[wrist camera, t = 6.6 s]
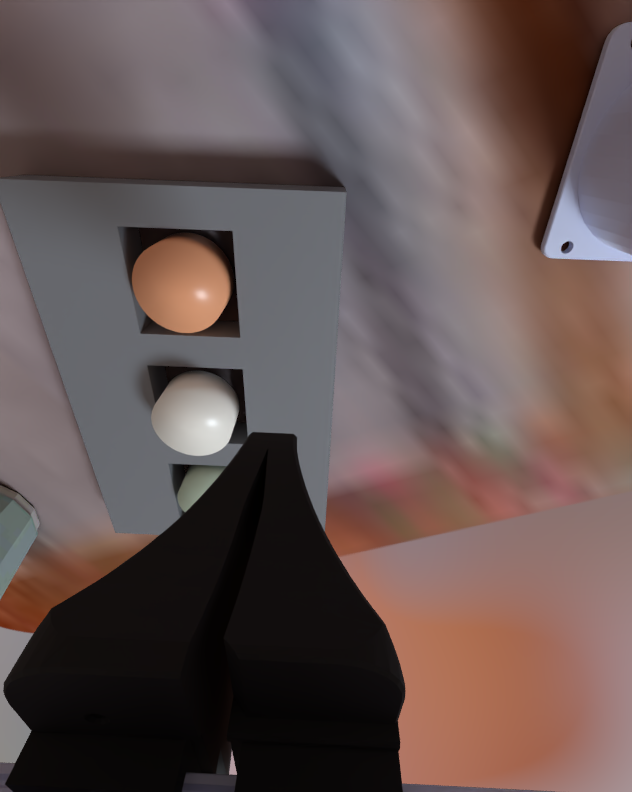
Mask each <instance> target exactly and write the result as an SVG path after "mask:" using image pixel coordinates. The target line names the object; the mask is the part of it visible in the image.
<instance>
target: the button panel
mask: <svg viewBox="0 0 632 792" xmlns="http://www.w3.org/2000/svg"><path fill="white" fill-rule="evenodd" d="M0 203H1V206H2V209H3V212H4V214H5V217H6V220H7V223H8V226H9V229H10V232H11V235H12V237H13V240H14V243H15V246H16V249H17V252H18V255H19V258H20V260H21V263H22V266H23V269H24V272H25V275H26V278H27V280H28V283H29V286H30V289H31V292H32V295H33V298H34V301H35V303H36V306H37V309H38V312H39V315H40V318H41V321H42V324H43V326H44V329H45V332H46V335H47V338H48V341H49V344H50V346H51V349H52V352H53V355H54V358H55V361H56V364H57V367H58V369H59V372H60V375H61V378H62V381H63V384H64V387H65V390H66V392H67V395H68V398H69V401H70V404H71V407H72V410H73V412H74V415H75V418H76V421H77V424H78V427H79V430H80V433H81V435H82V438H83V441H84V444H85V447H86V450H87V453H88V456H89V458H90V461H91V464H92V467H93V470H94V473H95V476H96V479H97V481H98V484H99V487H100V490H101V493H102V496H103V499H104V501H105V504H106V507H107V510H108V513H109V516H110V519H111V522H112V524H113V527H114V530H115V533H133V534H154V535H160V534H162V533H163V532H164V531H165V530H166V529H167V528H169V527H170V526H171V525H172V524H173V523H174V522H175V521H176V520H178V519H179V518H180V517H181V516H182V515H183V514H184V513H185V512H184V511H183V510H182V509H181V507H180V505H179V503H178V498H177V497H178V491H179V489H180V487H181V485H182V482H183V480H184V478H185V471H184V466H183V464H190V465H212V466H227V465H228V464H229V463H230V462H231V460H232V459H233V458H234V456H235V455H236V453H237V452H238V451H239V449H240V448H241V446H242V445H243V444H244V442H245V441H246V439H247V437H248V436H249V435H250V434H251V433H252V432H264V433H287V434H294V435H295V436H296V437H297V453H298V459H299V464H300V468H301V472H302V475H303V479H304V482H305V485H306V488H307V491H308V494H309V497H310V500H311V502H312V505H313V507H314V510H315V512H316V514H317V517H318V519H319V521H320V523H321V525H322V527H323V529H324V532H325V520H326V504H327V489H328V473H329V457H330V442H331V426H332V411H333V395H334V379H335V364H336V348H337V333H338V317H339V301H340V286H341V270H342V255H343V239H344V223H345V208H346V189H345V187H328V186H302V185H276V184H249V183H223V182H197V181H171V180H145V179H118V178H92V177H66V176H40V175H19V176H10V177H2V178H0ZM138 227H144V228H169V229H195V230H220V231H233V244H234V258H235V271H236V285H237V298H238V312H239V322H236V321H215V322H214V323H213V324H212V325H211V326H210V327H208V328H206V329H204V330H202V331H199V332H194V333H180V332H175V331H172V330H169V329H166V328H164V327H162V326H161V325H159V324H157V323H156V322H155V321H153V320H152V319H151V318H150V317H149V316H148V315H147V314H146V313H145V312H144V311H143V309H142V308H141V306H140V305H139V303H138V301H137V299H136V297H135V294H134V291H133V286H132V272H133V268H134V265H135V262H136V260H137V259H138V257H139V256H140V255H141V254H142V253H143V250H142V244H141V239H140V234H139V228H138ZM165 366H177V367H201V368H224V369H243V380H244V393H245V407H246V420H247V423H235V426H234V429H233V432H232V435H231V438H230V440H229V442H228V443H227V445H226V446H225V447H224V448H223V449H221V450H220V451H218V452H216V453H213V454H210V455H205V456H193V455H187V454H184V453H181V452H178V451H176V450H174V449H172V448H171V447H169V446H168V445H166V444H165V443H164V442H163V441H162V440H161V439H160V438H159V437H158V435H157V434H156V432H155V430H154V428H153V425H152V421H151V414H152V410H153V407H154V405H155V404H156V402H157V401H158V399H159V398H160V396H161V395H162V393H163V392H164V390H165V389H166V387H167V386H168V382H167V376H166V371H165Z"/></svg>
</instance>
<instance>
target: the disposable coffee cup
mask: <svg viewBox="0 0 632 792" xmlns="http://www.w3.org/2000/svg"><path fill="white" fill-rule="evenodd" d="M39 525H40V523H39V520H38V517H37V514H36V511H35V509H34V508H33V507H32V506H31V505H30V504H29V503H28V502H27V501H26V500H25V499H24V498H23V497H22V496H21V495H19V494H18V493H16V492H14V491H12V490H10V489H8V488H6V487H3V486H1V485H0V599H1V597H2V596H3V594H4V592H5V590H6V589H7V587H8V585H9V583H10V582H11V580H12V578H13V576H14V575H15V573H16V571H17V569H18V568H19V566H20V564H21V562H22V561H23V559H24V557H25V555H26V554H27V552H28V550H29V548H30V547H31V545H32V543H33V541H34V540H35V538H36V536H37V534H38V533H37V529H38V527H39Z"/></svg>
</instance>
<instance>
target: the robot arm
mask: <svg viewBox="0 0 632 792" xmlns="http://www.w3.org/2000/svg"><path fill="white" fill-rule="evenodd" d="M631 40H632V22H627V23H623V24H621V25H618V26H617V27H615V28H614V29H613V30H612V31H611V32H610V33H609V34H608V36H607V38H606V40H605V43H604V46H603V49H602V52H601V55H600V59H599V62H598V65H597V68H596V71H595V75H594V78H593V81H592V84H591V87H590V91H589V94H588V97H587V100H586V103H585V106H584V110H583V113H582V116H581V119H580V122H579V126H578V129H577V132H576V135H575V138H574V142H573V145H572V148H571V151H570V154H569V158H568V161H567V164H566V167H565V170H564V174H563V177H562V180H561V183H560V186H559V189H558V193H557V196H556V199H555V202H554V205H553V209H552V212H551V215H550V218H549V221H548V225H547V228H546V231H545V234H544V237H543V241H542V244H541V252H542V254H543V255H545V256H546V257H549V258H558V259H583V260H609V261H632V48H631ZM567 241H569V246H568V248H567V249H566V250H565V251H561V247H562V245H563V244H564V243H565V242H567ZM3 691H4V695H5V697H6V699H7V701H8V703H9V704H10V706H11V707H12V708H13V709H14V710H15V711H16V713H17V714H18V715H19V716H20V717H21V719H22V720H23V721H24V722H25V723H26V725H27V726H28V727H29V728H30V729H31V730H32V731H31V733H30V735H29V738H28V739H27V741H26V743H25V745H24V747H23V749H22V751H21V753H20V755H19V757H18V759H17V761H16V763H0V792H552V791H534V790H514V789H496V788H476V787H457V786H439V785H420V784H402V781H401V771H400V762H399V753H398V750H399V749H400V737H399V728H398V718H399V715H400V712H401V709H402V706H403V703H404V700H405V683H404V678H403V674H402V670H401V667H400V663H399V660H398V657H397V654H396V651H395V648H394V645H393V643H392V640H391V638H390V635H389V633H388V630H387V628H386V625H385V624H384V622H383V621H382V619H381V618H380V617H379V615H378V614H377V613H376V612H375V610H374V609H373V608H372V606H371V605H370V604H369V602H368V601H367V600H366V598H365V597H364V596H363V594H362V593H361V591H360V590H359V589H358V587H357V586H356V584H355V583H354V581H353V580H352V578H351V577H350V575H349V573H348V572H347V570H346V569H345V567H344V566H343V564H342V562H341V560H340V559H339V557H338V555H337V554H336V552H335V550H334V549H333V547H332V545H331V543H330V541H329V539H328V537H327V536H326V534H325V532H324V529H323V527H322V525H321V523H320V521H319V519H318V517H317V514H316V512H315V510H314V507H313V505H312V502H311V500H310V497H309V494H308V491H307V488H306V485H305V482H304V479H303V475H302V472H301V468H300V464H299V459H298V453H297V437H296V436H295V435H294V434H287V433H264V432H252V433H251V434H250V435H249V436H248V437H247V439H246V441H245V442H244V444H243V445H242V446H241V448H240V449H239V451H238V452H237V453H236V455H235V456H234V458H233V459H232V460H231V462H230V463H229V464H228V465H227V467H226V468H225V469H224V470H223V472H222V473H221V474H220V475H219V476H218V478H217V479H216V480H215V481H214V482H213V484H212V485H211V486H210V487H209V488H208V489H207V490H206V491H205V492H204V493H203V495H202V496H201V497H200V498H199V499H198V500H197V501H196V502H195V503H194V504H193V505H192V506H191V507H190V508H189V509H188V510H187V511H186V512H185V513H184V514H183V515H182V516H181V517H180V518H179V519H178V520H176V521H175V522H174V523H173V524H172V525H171V526H170V527H169V528H167V529H166V530H165V531H164V532H163V533H162V534H160V535H159V536H158V537H157V538H156V539H154V540H153V541H152V542H151V543H150V544H148V545H147V546H146V547H145V548H143V549H142V550H141V551H139V552H138V553H137V554H135V555H134V556H132V557H131V558H130V559H128V560H127V561H125V562H124V563H123V564H121V565H120V566H119V567H117V568H116V569H114V570H113V571H112V572H110V573H109V574H107V575H106V576H104V577H103V578H101V579H100V580H98V581H97V582H95V583H93V584H92V585H90V586H88V587H87V588H85V589H83V590H82V591H80V592H78V593H77V594H75V595H73V596H72V597H70V598H68V599H67V600H65V601H64V602H62V603H60V604H58V605H57V606H55V607H53V608H52V609H51V610H50V611H49V613H48V614H47V616H46V617H45V618H44V620H43V621H42V622H41V624H40V625H39V627H38V628H37V629H36V631H35V632H34V634H33V636H32V637H31V639H30V640H29V642H28V644H27V645H26V647H25V649H24V650H23V652H22V654H21V655H20V657H19V659H18V660H17V662H16V664H15V665H14V667H13V669H12V670H11V672H10V674H9V675H8V677H7V679H6V680H5V682H4V690H3ZM232 751H233V756H234V761H235V766H236V771H237V775H229V768H230V760H231V752H232Z"/></svg>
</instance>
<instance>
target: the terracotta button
mask: <svg viewBox="0 0 632 792" xmlns="http://www.w3.org/2000/svg"><path fill="white" fill-rule="evenodd" d="M132 286H133V291H134V294H135V297H136V299H137V301H138V303H139V305H140V306H141V308H142V309H143V311H144V312H145V313H146V314H147V315H148V316H149V317H150V318H151V319H152V320H153V321H155V322H156V323H157V324H159V325H161V326H162V327H164V328H166V329H169V330H172V331H175V332H180V333H194V332H199V331H202V330H204V329H206V328H208V327H210V326H211V325H212V324H213V323H214V322H215V321H216V320H217V319H218V318H219V316H220V314H221V313H222V311H223V310H224V308H225V307H226V305H227V303H228V302H229V300H230V298H231V296H232V293H233V290H234V274H233V270H232V267H231V264H230V262H229V260H228V258H227V257H226V255H225V254H224V252H223V251H222V250H221V249H220V248H219V247H218V246H217V245H216V244H215V243H213V242H212V241H211V240H209V239H207V238H205V237H203V236H201V235H198V234H194V233H187V232H183V233H175V234H172V235H170V236H168V237H166V238H164V239H162V240H161V241H159V242H157V243H156V244H154V245H152V246H150V247H149V248H147V249H146V250H145V251H143V253H142V254H141V255H140V256H139V257H138V259H137V260H136V262H135V265H134V268H133V272H132Z"/></svg>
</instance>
